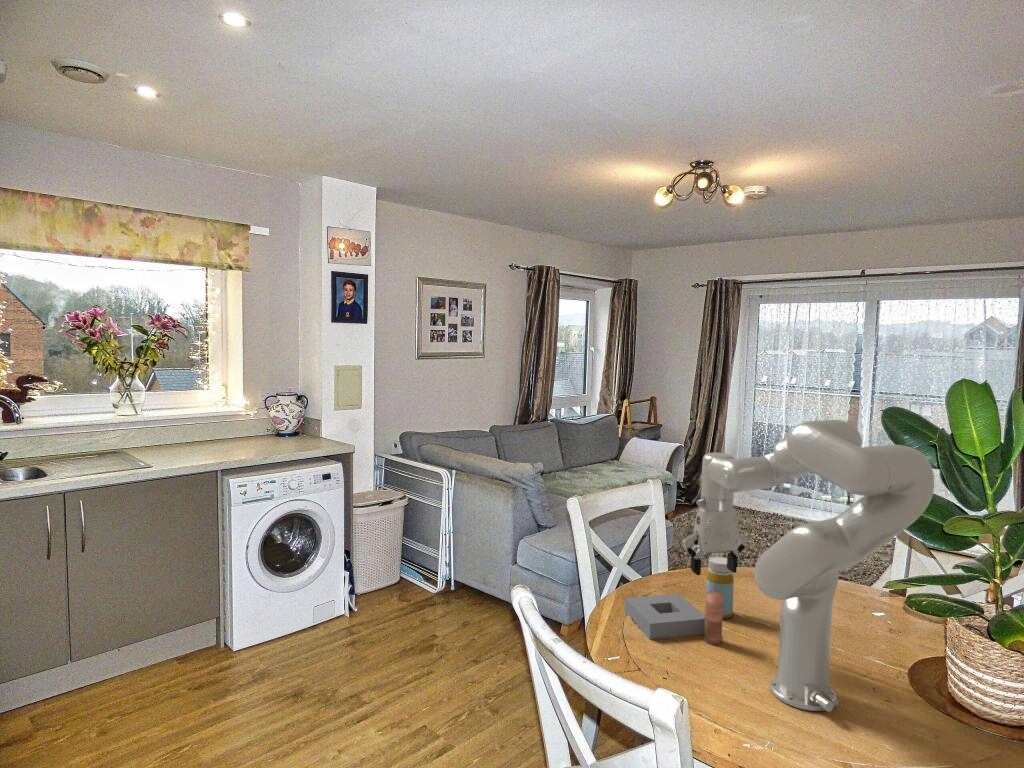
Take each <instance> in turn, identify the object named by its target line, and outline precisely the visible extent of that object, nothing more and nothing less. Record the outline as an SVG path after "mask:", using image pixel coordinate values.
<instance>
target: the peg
mask: <svg viewBox="0 0 1024 768" xmlns="http://www.w3.org/2000/svg"><path fill="white" fill-rule="evenodd" d="M704 613H705V614H704V615H705V634H704V642H705V643H706V644H708V645H710V646H720V645H722V643H723V641H722V639H723V638H722V637H723V619H722V613H723V594H722V593H720V592H717V591H708V592H706V591H705V612H704Z"/></svg>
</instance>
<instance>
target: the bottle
mask: <svg viewBox="0 0 1024 768" xmlns="http://www.w3.org/2000/svg"><path fill="white" fill-rule="evenodd" d="M707 569H708V571H707V573H706V578H705V579H706V581H705V583H706V585H705V586H706V587H705V593H706V592H708V591H717V592H720V593H722V594H723V613H722V620H726V619H730V618H731V616H733V613H734V611H733V609H734V583H735V582H734V575H733V572H732V571H730V570H729V569H727V557H724V556H711V557H709V558H708V568H707Z"/></svg>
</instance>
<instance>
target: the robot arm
mask: <svg viewBox="0 0 1024 768" xmlns="http://www.w3.org/2000/svg"><path fill="white" fill-rule="evenodd" d="M862 442H863V441H862V435H861V434H860V431H859V429H857V428H856V426H854V425H853V424H851V423H849V422H847V421H844V420H840V419H824V420H810V421H809V420H808V421H804V422H800V423H799V424H797V425H795V426H794V427H793V428H792V429H791V431H790V432H789V434H788V436H785V437H783V438H781V439H779V440H778V441H777V442H776V443H775V446H774V449H773V452H771V453H767V454H765V455H762V456H753V457H741V458H735V457H734V456H733V455H732V454H729V453H724V452H709V453H705V454H704V455H703V457H702V466H701V467H702V468H701V469H702V470H701V488H700V489H701V490H700V491H701V492H700V498H699V499H696V503H695V504H696V505H697V506H700V507H698V509H697V512H696V515H695V521H694V526H693V527H694V529H693V533H691V534H690V535H688V536H686V537H685V538H683V539H682V540H681V543H682V545H683V548H684V551H685V552H687V554H688V555H689V556H690V570H691V572H692V573H694V574H695V575H696V576H701V573H702V572H701V570H702V560H701V559H700V557H701V556H702V555H703V553H705V554H706V553H707V554H708V553H709V554H710V553H724V552H725V553H726V552H728V553H727V555H726V558H727V569H729V570H730V571H732V574H733V573H735V574H736V573H737V568H738V561H739V560H738V558H739V557H740V556H741V554H742V552H743V551H744V550H745V546H746V545H747V543H748V540H749V538H748V537H747V536H745V535H744V534H743V533H742V534H741V533H740V532H739V531H740V530H739V520H738V513H737V510H736V509H735V508H734V500H735V499H734V495H735V494H734V493H743V492H748V491H757V490H764V489H765V490H766V489H769V488H773V487H776V486H780V485H782V484H786V483H789V482H792V481H794V480H797V479H799V478H800V477H802V476H805V475H808V474H811V473H813V474H815V475H817V476H819V477H821V478H822V479H824V480H825V481H828V482H829V483H831V484H833V485H835V486H836V487H838V488H840V489H842V490H843V491H846V492H848V493H851V494H852V495H856V496H861V498H859V499H857V500H856V501H854V502H853V503H852V504H851V505H850V506H849V507H848V508H846V509H845V510H843V512H841V513H840V514H837V515H836V516H834V517H832V518H828V519H822V520H818V521H813V522H808V523H807V522H806V523H804V524H799V525H798V526H796V527H793V529H792V528H791V530H788V532H787V533H785V534H784V535H782V537H781V538H779V539H778V540H777V541H776V542H775V543H773V544H772V545H771V546H769V547H768V548H767V549H766V550H765V551H764V552H762V553H761V554H760V556H759V557H758V559H757V560H756V563H755V565H754V570H753V573H754V574H753V575H754V580H755V583H756V585H757V587H758V589H759V590H760V591H761V592H762V593H763V594H764V595H765V596H767V597H768V598H771V599H773V600H778V601H782V602H781V607H780V617H779V618H780V623H779V624H780V625H779V645H778V646H779V649H778V651H779V652H778V669H777V670H778V674H777V675H775V676H773V677H771V679H770V681H769V688H770V691H771V693H772V694H773V695H774V697H776V698H777V699H779V700H780V701H781V702H783V703H784V704H787V705H789V706H791V707H795V708H797V709H801V710H805V711H811V712H812V711H813V712H823V711H826V712H829V713H830V712H832V711H833V709H834V707H836V706H838V705H839V703H840V700H839V698H837V694H836V692H835V691H834V689H833V688H832V685H833V684H831V683H830V682H829V681H830V661H831V660H830V658H831V657H830V656H831V633H832V630H831V629H832V617H833V605H834V599H835V595H836V591H837V587H838V582H839V577H840V576H839V572H840V571H843V570H847V569H849V568H853V567H855V566H857V565H858V564H860V563H861V562H862V561H864V560H865V559H866V558H868V557H869V556H870V555H872V554H873V553H874V552H876V551H878V550H879V549H880V548H881V547H883V546H885V545H886V544H887V543H888V542H889V541H890V540H892V539H893V538H895V537H897V535H899V534H900V533H902V532H903V531H906V529H907V528H908V527H910V526H911V525H913V524H914V523H915V522H916V521H917V520H918V519H919V518H920V517H922V515H923V514H924V512H925V511H926V509H928V507H929V505H930V503H931V500H932V498H933V495H934V491H935V474H934V469H933V467H932V465H931V462H930V461H929V460H928V458H927V457H926V455H925V454H924V453H922V452H921V451H919V450H918V449H916V448H914V447H912V446H911V447H910V446H908V445H902V444H885V445H873V446H864V447H862ZM691 544H693V547H691Z"/></svg>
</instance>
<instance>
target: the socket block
mask: <svg viewBox="0 0 1024 768" xmlns="http://www.w3.org/2000/svg"><path fill="white" fill-rule="evenodd" d="M625 612H626V613H627V614H628V615H629V616H630V617H631V618H632V619H633V621H634V622H635V623H636V624H637V625H638V626H639V627H640V628H639V627H638V626H637V625H636V624H635V623H634V622H633V621H632V622H633V623H634V624H635V625H636V626H637V627H638V628H639V630H640V629H641V630H642V631H643V632H644V633H645V634H646V635H645V634H644V633H643V632H642V631H641V630H640V631H641V632H642V633H643V634H644V635H645V636H646V637H647V638H648V639H649V640H658V639H669V638H679V637H678V636H680V637H686V636H687V637H688V636H689V635H690V636H697V635H701V636H702V635H705V614H704V613H703V612H701V611H700V610H699V609H698V608H697V607H695V606H694V605H693V604H692V603H691V602H689V601H688V600H687V599H686V598H684V597H683V596H682V595H681V594H679V593H671V594H668V593H667V594H658V595H657V594H656V595H646V596H635V597H624V613H625ZM626 613H625V614H626ZM627 614H626V615H627Z"/></svg>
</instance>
